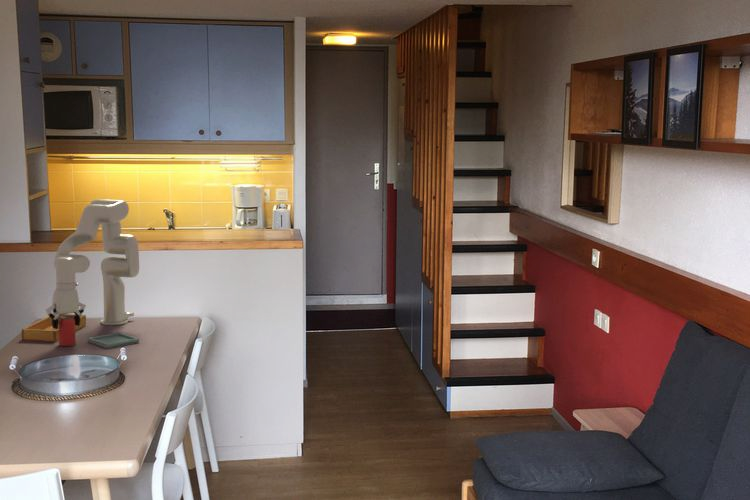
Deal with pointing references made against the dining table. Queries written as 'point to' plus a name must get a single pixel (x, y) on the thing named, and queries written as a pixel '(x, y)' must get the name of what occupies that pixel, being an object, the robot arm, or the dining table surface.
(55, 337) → the tray
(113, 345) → the slate tray
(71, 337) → the beer can
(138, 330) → the dining table surface
